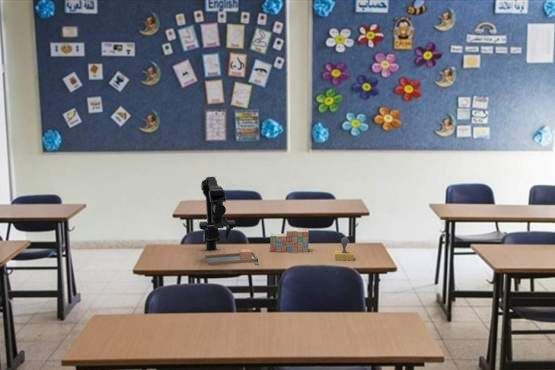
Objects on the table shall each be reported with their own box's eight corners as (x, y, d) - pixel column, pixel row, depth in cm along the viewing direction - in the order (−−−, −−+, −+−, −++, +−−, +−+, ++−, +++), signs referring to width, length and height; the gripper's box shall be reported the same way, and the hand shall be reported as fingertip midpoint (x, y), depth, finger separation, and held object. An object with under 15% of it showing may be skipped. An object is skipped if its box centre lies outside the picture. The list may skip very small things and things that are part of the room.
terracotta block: (239, 256, 337) (239, 249, 337) (250, 256, 339) (250, 249, 338) (240, 259, 333) (240, 252, 332) (252, 259, 334) (252, 251, 333)
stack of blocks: (270, 252, 352) (270, 230, 350) (270, 249, 358) (270, 228, 356) (308, 252, 351) (308, 231, 348) (308, 249, 357) (308, 228, 354)
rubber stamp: (334, 260, 336) (335, 238, 334) (334, 257, 342) (335, 235, 339) (353, 260, 335) (354, 239, 333) (353, 257, 341) (353, 236, 339)
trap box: (205, 260, 336) (205, 255, 336) (253, 257, 342) (253, 252, 341) (208, 267, 324) (208, 262, 323) (258, 264, 329) (258, 258, 329)
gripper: (200, 215, 318) (201, 245, 321) (237, 213, 322) (237, 243, 325) (198, 211, 329) (199, 240, 332) (233, 209, 333) (234, 237, 336)
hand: (217, 240), depth 331 cm, fingers open, 9 cm apart
